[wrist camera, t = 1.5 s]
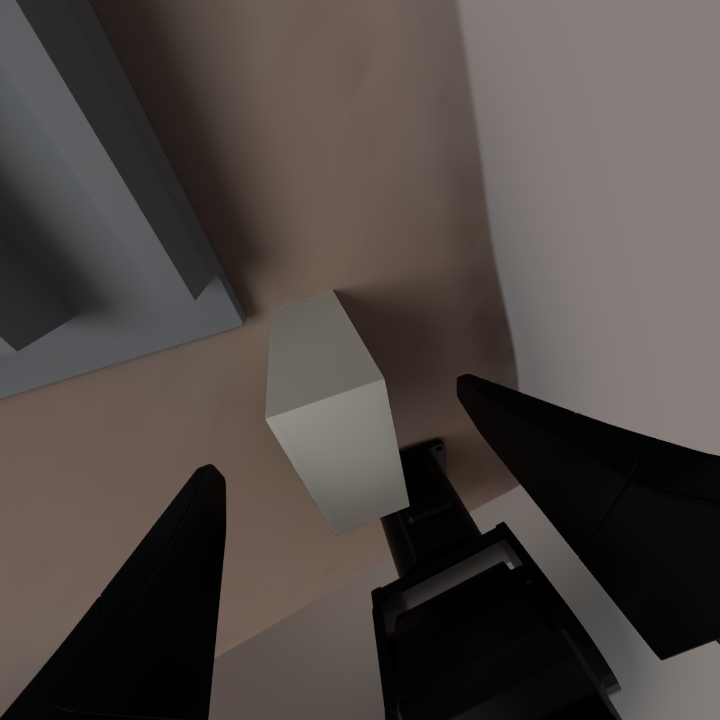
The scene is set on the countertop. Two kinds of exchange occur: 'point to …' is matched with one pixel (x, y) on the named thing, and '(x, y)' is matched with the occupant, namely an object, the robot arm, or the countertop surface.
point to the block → (333, 413)
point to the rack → (89, 210)
